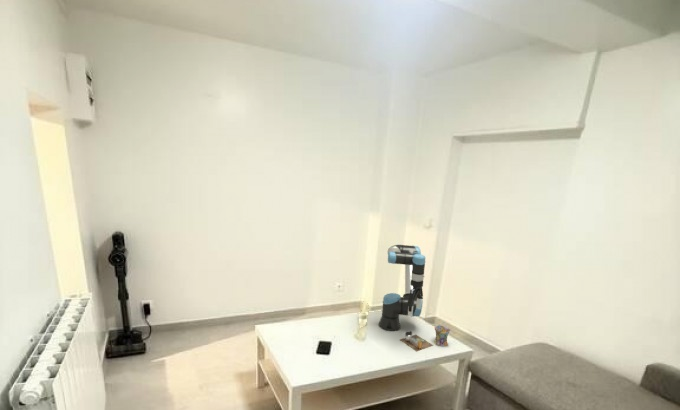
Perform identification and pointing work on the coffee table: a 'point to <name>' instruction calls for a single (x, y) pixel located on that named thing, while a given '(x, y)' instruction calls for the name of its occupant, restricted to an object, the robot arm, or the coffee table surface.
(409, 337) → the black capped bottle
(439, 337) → the mug
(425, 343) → the brown picture tile
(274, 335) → the coffee table surface
